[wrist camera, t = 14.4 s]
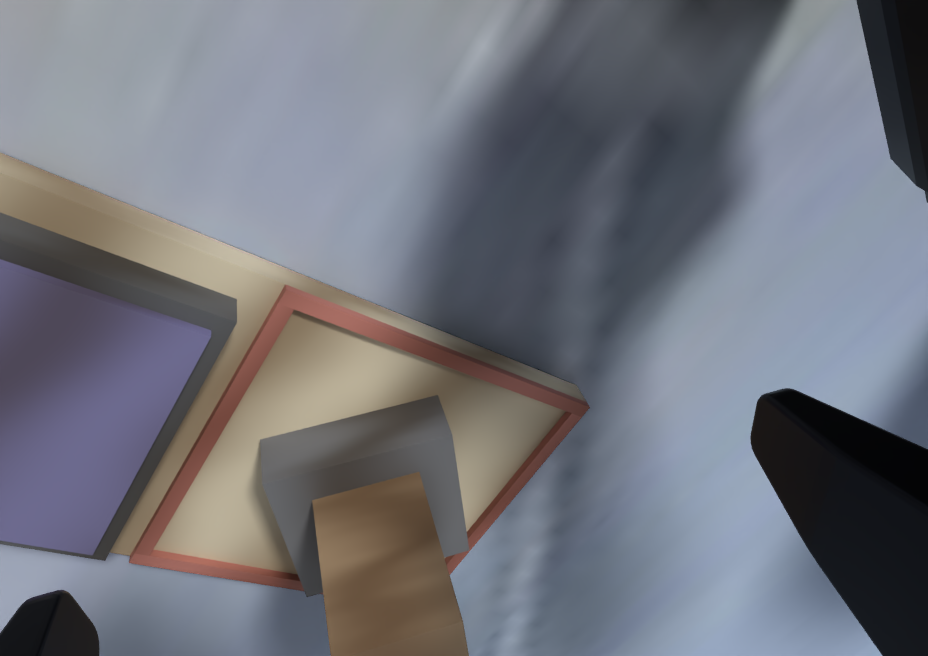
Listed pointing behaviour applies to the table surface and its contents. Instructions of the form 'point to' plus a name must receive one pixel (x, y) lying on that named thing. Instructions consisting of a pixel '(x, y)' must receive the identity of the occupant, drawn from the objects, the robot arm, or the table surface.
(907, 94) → the robot arm
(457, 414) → the board
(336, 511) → the stamp
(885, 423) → the table surface
